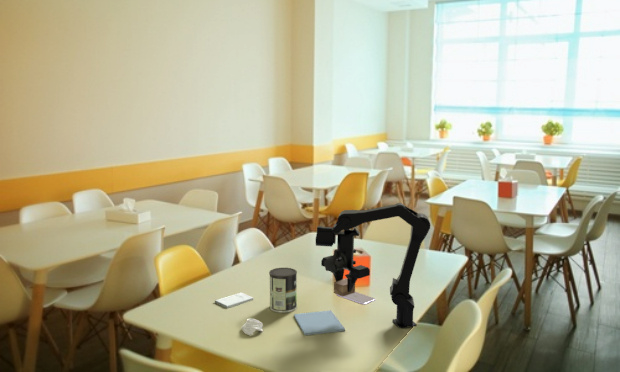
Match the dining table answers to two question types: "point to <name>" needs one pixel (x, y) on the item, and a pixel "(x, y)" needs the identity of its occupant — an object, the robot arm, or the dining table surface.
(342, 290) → the walnut block
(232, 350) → the dining table surface
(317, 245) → the robot arm
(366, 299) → the mobile phone
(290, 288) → the coffee can
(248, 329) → the white crumpled lump
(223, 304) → the external hard drive
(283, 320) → the dining table surface
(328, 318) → the mat
